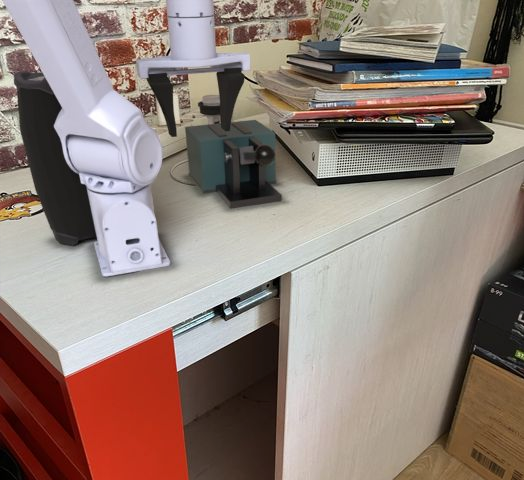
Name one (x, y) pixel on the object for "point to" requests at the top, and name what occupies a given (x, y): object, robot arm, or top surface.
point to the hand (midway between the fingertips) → (199, 132)
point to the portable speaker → (51, 161)
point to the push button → (211, 108)
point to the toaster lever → (256, 155)
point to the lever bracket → (245, 191)
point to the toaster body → (212, 151)
